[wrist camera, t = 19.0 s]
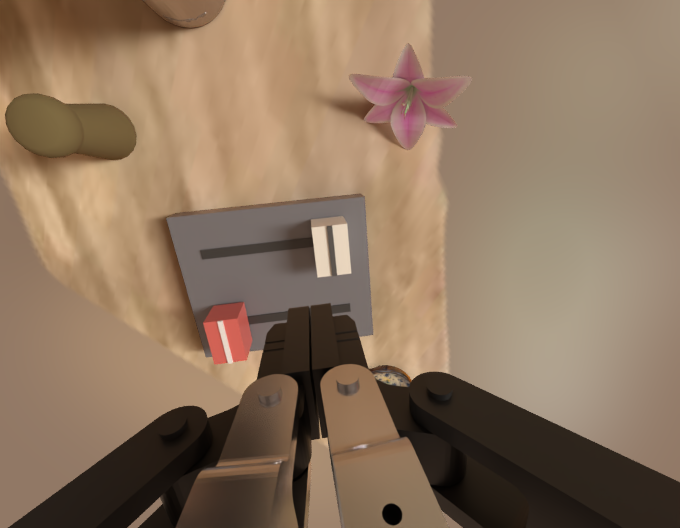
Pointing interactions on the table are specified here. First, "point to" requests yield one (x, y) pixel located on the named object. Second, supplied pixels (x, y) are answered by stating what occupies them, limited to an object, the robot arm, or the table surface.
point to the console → (270, 262)
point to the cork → (69, 128)
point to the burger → (391, 375)
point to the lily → (409, 98)
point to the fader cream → (331, 246)
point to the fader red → (228, 333)
